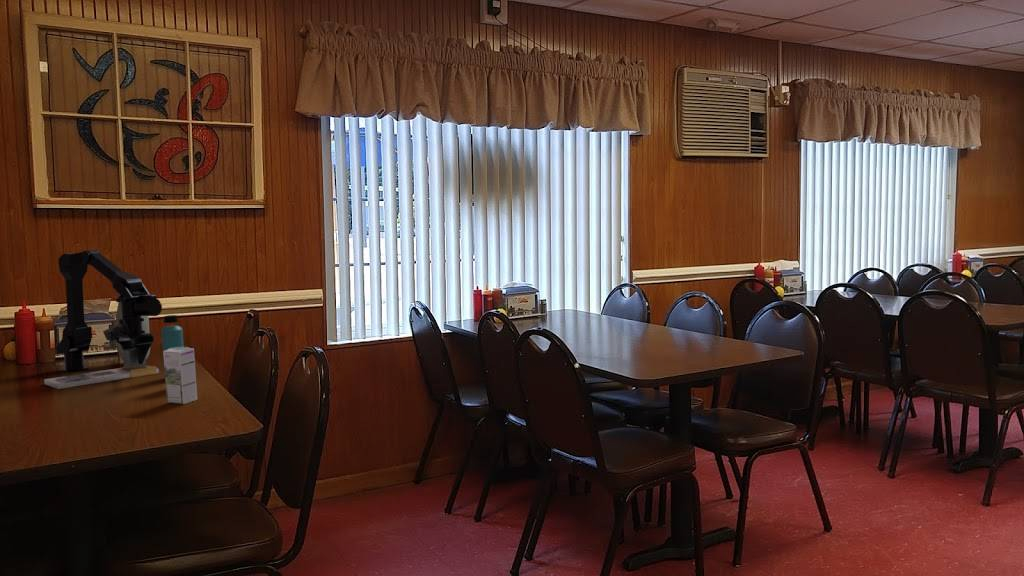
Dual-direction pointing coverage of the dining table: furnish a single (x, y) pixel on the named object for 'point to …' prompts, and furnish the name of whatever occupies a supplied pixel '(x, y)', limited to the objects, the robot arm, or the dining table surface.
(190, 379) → the syrup box
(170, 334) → the beverage bottle
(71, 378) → the white flat frame
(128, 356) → the steel block
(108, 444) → the dining table surface
